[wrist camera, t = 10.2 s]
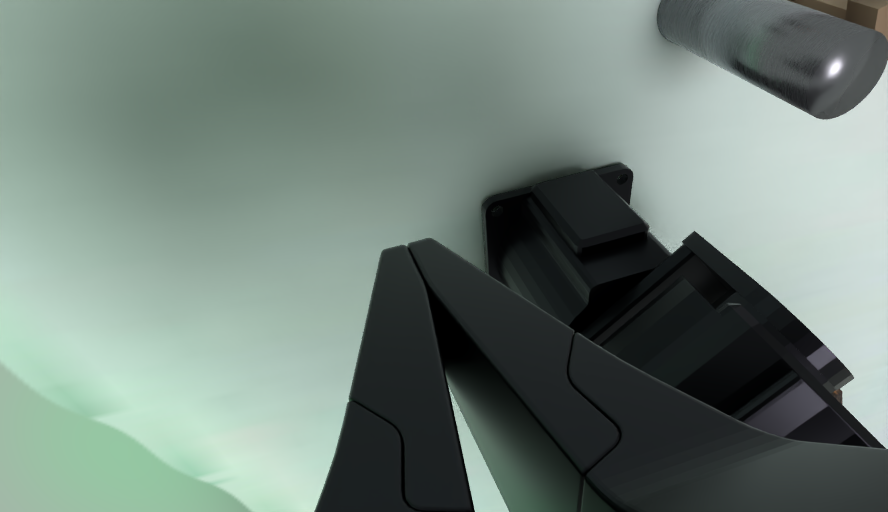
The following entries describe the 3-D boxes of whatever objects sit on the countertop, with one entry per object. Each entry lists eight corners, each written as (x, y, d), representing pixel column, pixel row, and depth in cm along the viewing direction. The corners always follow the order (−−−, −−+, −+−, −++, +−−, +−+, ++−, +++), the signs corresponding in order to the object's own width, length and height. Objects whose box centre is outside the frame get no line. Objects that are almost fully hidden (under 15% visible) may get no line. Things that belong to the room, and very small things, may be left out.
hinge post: (710, 35, 22) (868, 109, 16) (653, 47, 21) (796, 127, 16) (724, -35, 20) (903, 22, 15) (662, -23, 20) (824, 40, 14)
